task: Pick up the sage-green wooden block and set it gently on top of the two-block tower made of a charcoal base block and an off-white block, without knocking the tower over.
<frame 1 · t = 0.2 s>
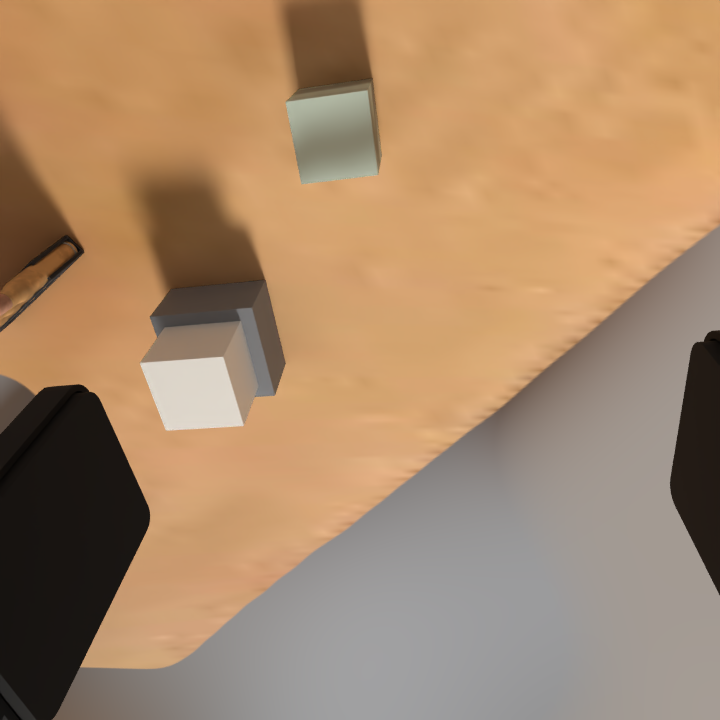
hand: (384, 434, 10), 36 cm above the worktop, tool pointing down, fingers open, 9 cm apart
tower base: (230, 326, 51), on the worktop, touching tower top
ammunition clip: (39, 278, 50), on the worktop
sage block: (341, 122, 41), on the worktop
tower top: (212, 357, 47), point 5 cm above the worktop, touching tower base
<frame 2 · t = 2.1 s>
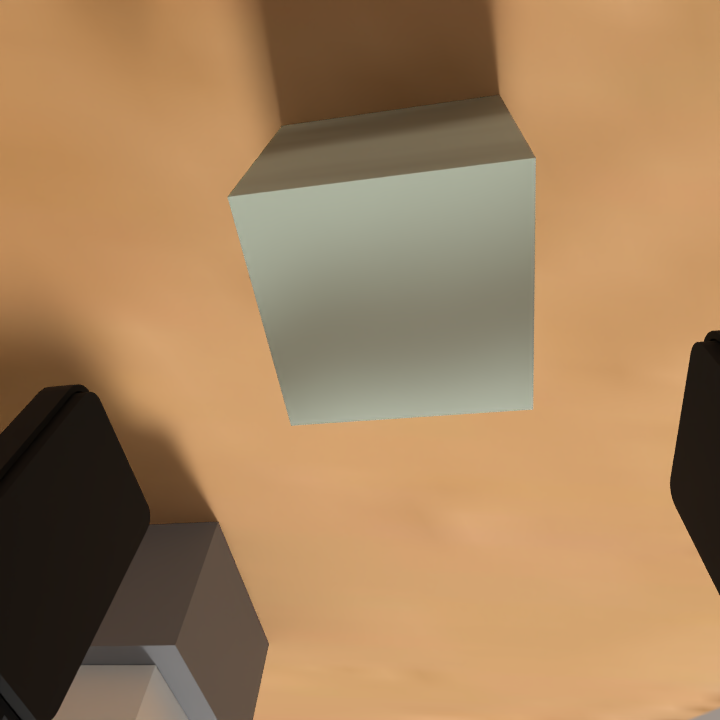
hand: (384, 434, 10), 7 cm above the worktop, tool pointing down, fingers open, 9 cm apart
tower base: (155, 586, 25), on the worktop
sage block: (400, 214, 15), on the worktop
tower top: (103, 711, 21), point 5 cm above the worktop
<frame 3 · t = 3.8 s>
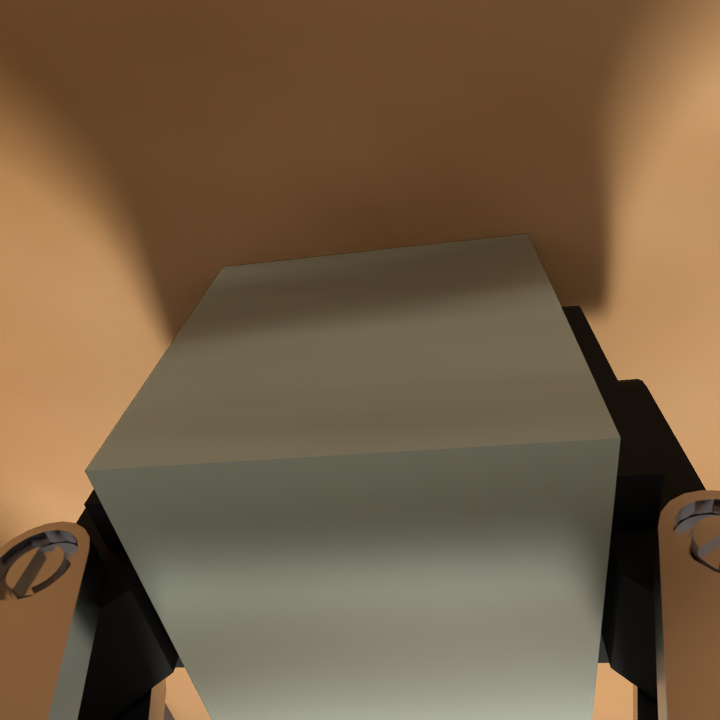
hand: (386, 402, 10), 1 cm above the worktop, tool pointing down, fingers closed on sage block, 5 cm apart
sage block: (388, 378, 11), on the worktop, touching gripper
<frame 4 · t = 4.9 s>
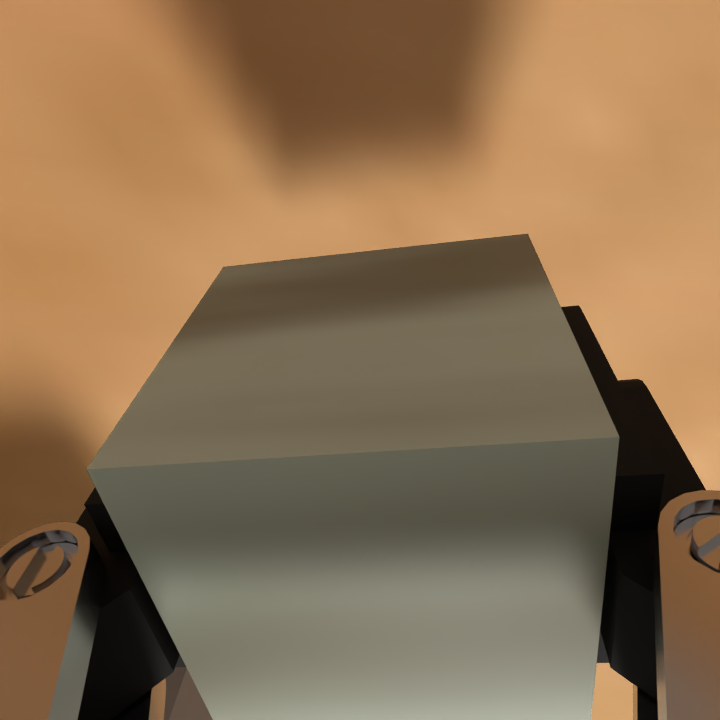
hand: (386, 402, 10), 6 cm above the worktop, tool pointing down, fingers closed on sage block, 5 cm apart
tower base: (145, 662, 25), on the worktop, touching tower top
sage block: (388, 378, 11), point 5 cm above the worktop, touching gripper
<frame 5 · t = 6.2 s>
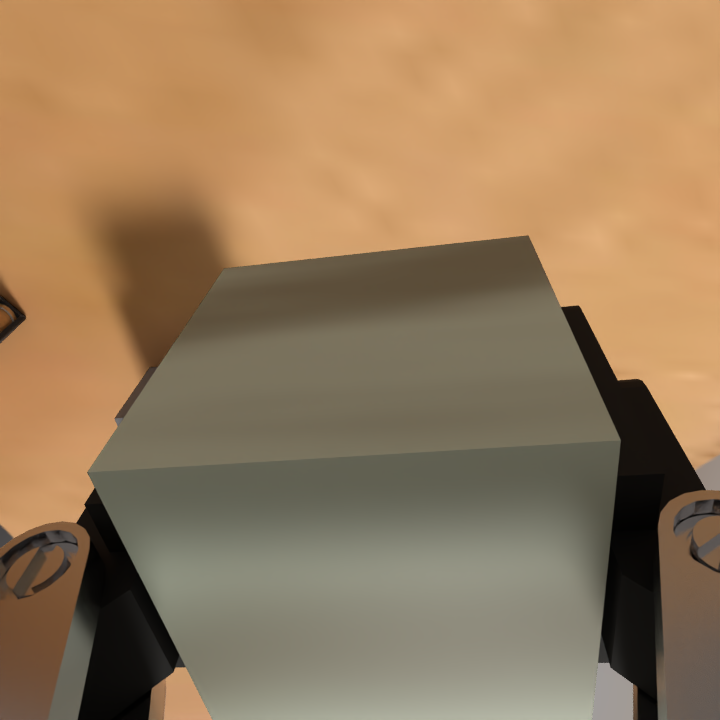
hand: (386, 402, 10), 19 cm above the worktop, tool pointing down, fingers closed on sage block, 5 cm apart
tower base: (234, 415, 36), on the worktop, touching tower top
sage block: (389, 379, 11), point 19 cm above the worktop, touching gripper
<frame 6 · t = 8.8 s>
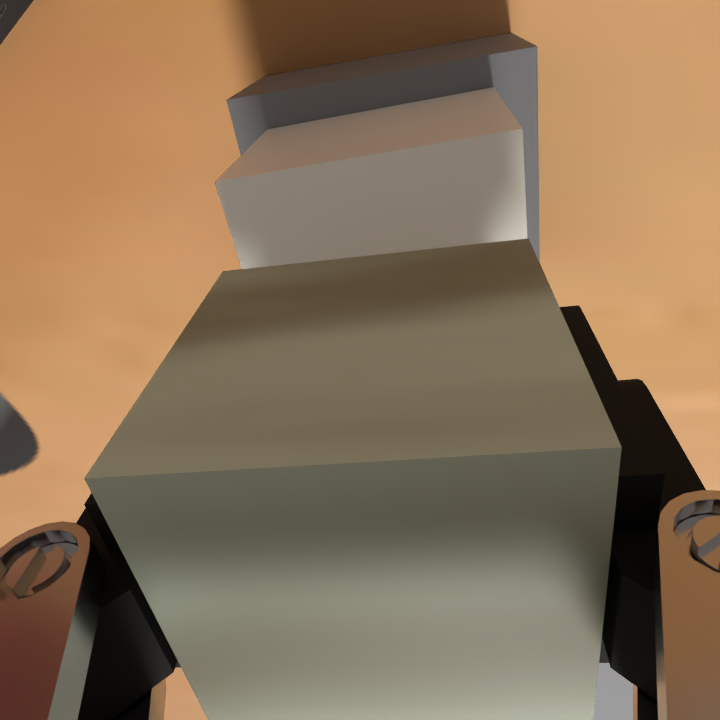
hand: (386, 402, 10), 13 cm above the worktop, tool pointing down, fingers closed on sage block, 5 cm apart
tower base: (400, 177, 22), on the worktop
sage block: (388, 382, 11), point 12 cm above the worktop, touching gripper
tower top: (394, 218, 17), point 5 cm above the worktop
when the fingers open (12 cm above the worktop, at t = 10.0 s): sage block drops 1 cm, resting on tower top.
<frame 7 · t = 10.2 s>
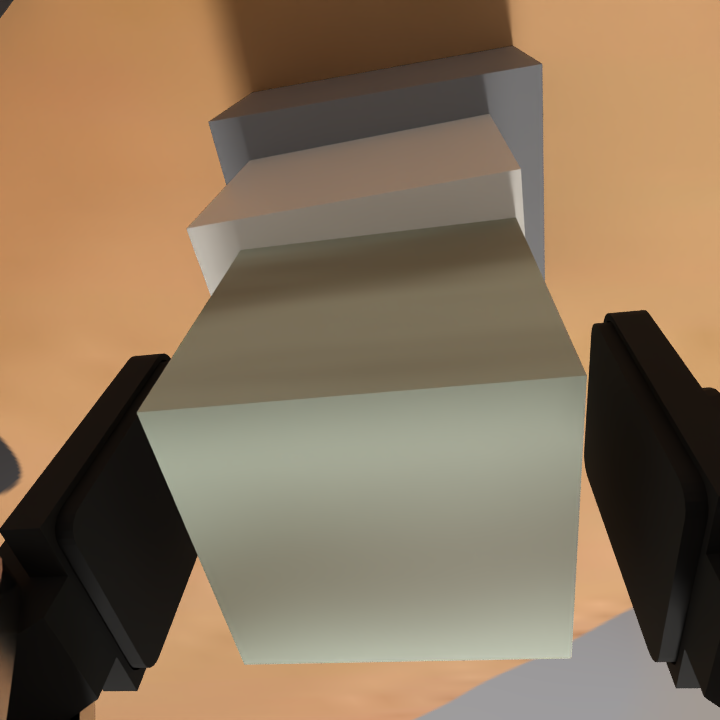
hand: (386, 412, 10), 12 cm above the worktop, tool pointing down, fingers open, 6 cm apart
tower base: (396, 196, 20), on the worktop, touching tower top
sage block: (390, 352, 12), point 10 cm above the worktop, touching tower top
tower top: (386, 251, 16), point 5 cm above the worktop, touching sage block, tower base
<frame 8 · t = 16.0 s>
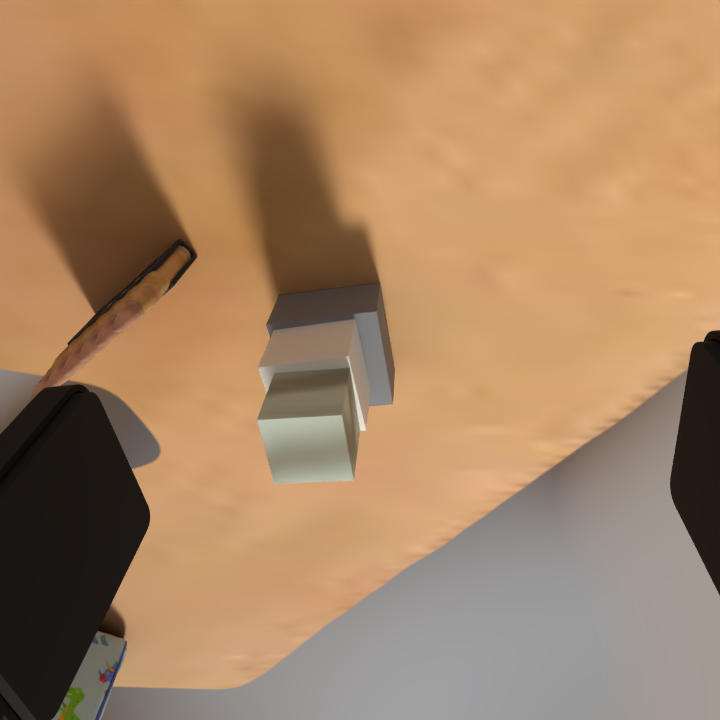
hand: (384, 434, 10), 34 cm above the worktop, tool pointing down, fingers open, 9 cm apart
lunch box: (67, 654, 77), on the worktop
tower base: (339, 332, 49), on the worktop, touching tower top
ammunition clip: (145, 285, 48), on the worktop
sage block: (318, 401, 40), point 10 cm above the worktop, touching tower top
tower top: (323, 360, 44), point 5 cm above the worktop, touching sage block, tower base
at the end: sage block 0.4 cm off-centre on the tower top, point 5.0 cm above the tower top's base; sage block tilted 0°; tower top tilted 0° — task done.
